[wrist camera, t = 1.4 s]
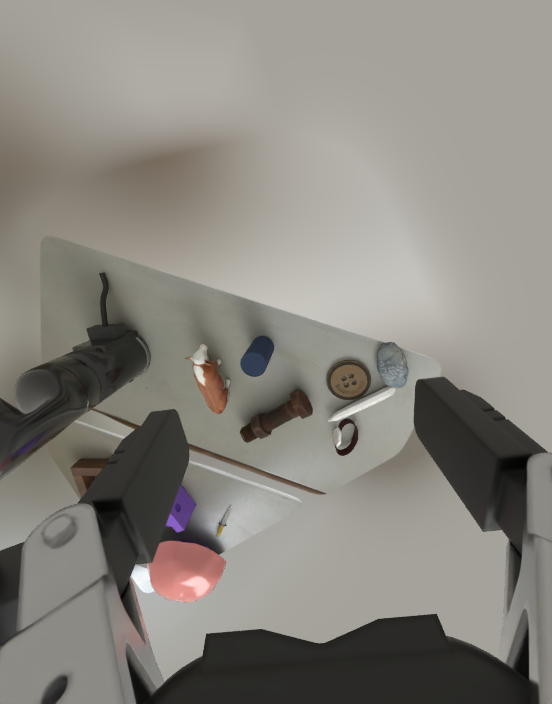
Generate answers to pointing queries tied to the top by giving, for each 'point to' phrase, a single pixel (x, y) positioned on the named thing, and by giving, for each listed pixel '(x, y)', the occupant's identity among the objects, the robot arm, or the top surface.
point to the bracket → (181, 511)
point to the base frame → (86, 472)
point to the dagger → (223, 522)
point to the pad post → (257, 356)
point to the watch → (338, 437)
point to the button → (348, 380)
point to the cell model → (184, 570)
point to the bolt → (277, 417)
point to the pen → (363, 403)
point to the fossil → (392, 365)
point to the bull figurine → (210, 380)
